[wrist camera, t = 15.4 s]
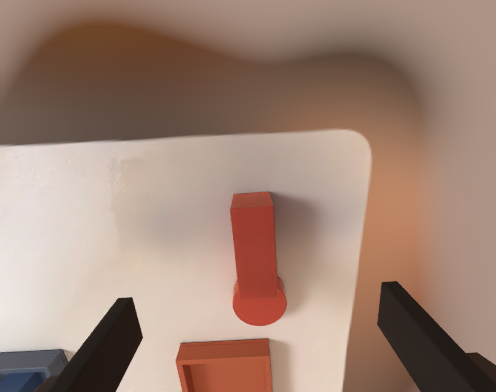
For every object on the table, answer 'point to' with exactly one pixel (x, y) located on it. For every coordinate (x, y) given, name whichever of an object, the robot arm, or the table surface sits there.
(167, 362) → the table surface
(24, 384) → the blue spoon
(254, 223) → the red spoon
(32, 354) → the blue tray
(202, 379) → the red tray
